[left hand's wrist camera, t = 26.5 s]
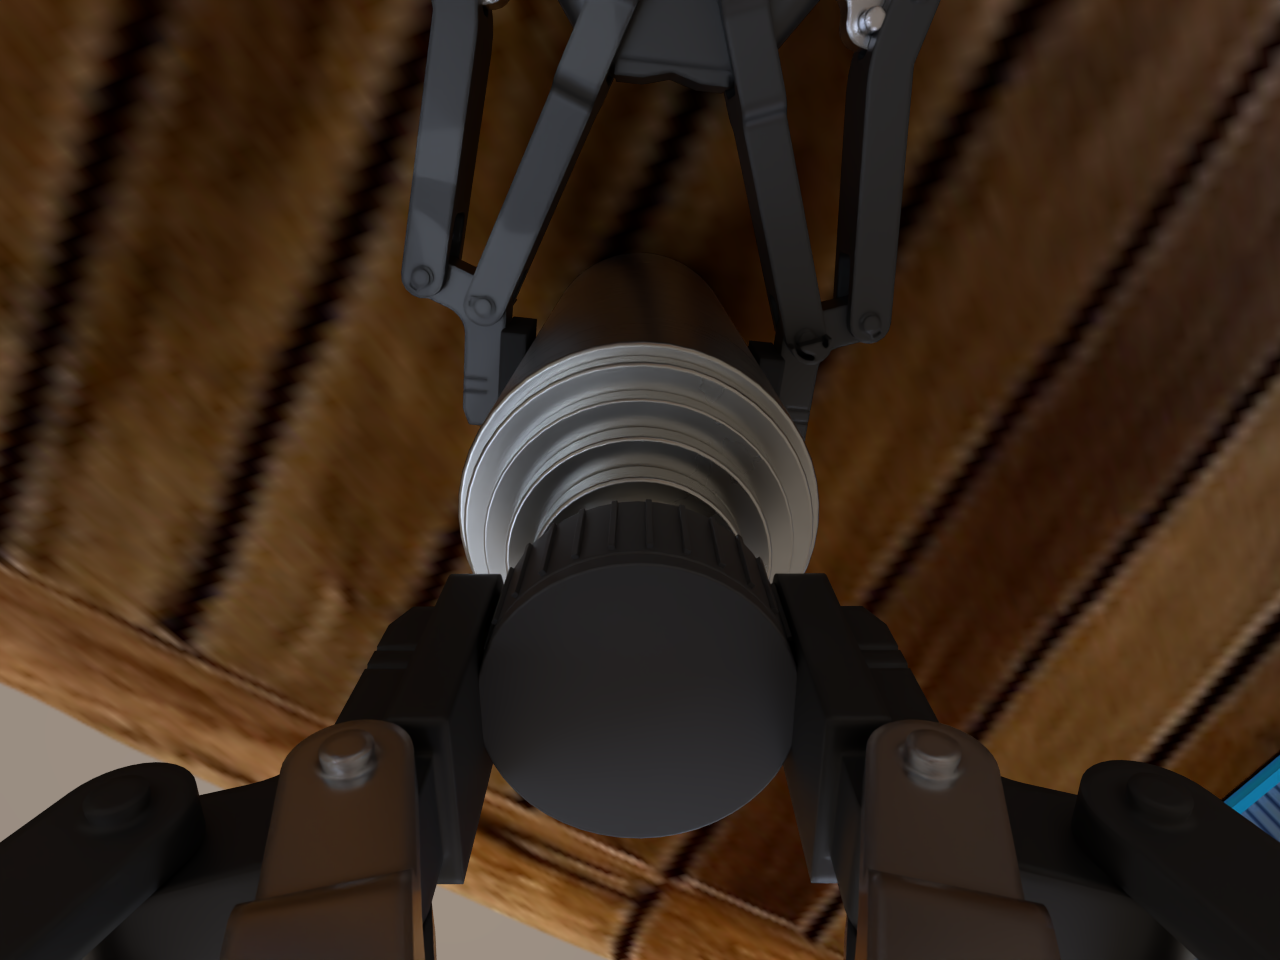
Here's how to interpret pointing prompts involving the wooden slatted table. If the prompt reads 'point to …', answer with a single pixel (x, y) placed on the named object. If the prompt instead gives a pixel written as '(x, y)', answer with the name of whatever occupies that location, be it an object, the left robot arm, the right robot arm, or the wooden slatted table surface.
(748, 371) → the bottle
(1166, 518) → the wooden slatted table surface
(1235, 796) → the model building
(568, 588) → the cap
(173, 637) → the wooden slatted table surface
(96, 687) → the wooden slatted table surface
